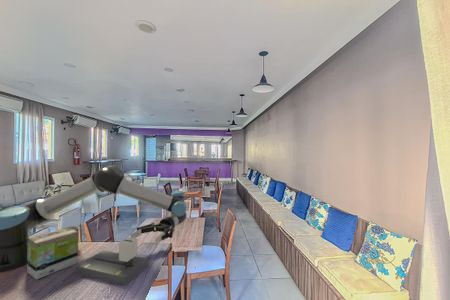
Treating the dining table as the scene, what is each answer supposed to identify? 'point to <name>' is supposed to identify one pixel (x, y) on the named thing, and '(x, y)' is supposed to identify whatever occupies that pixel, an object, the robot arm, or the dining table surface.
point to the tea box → (52, 252)
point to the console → (111, 267)
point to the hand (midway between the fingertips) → (143, 239)
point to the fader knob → (128, 251)
